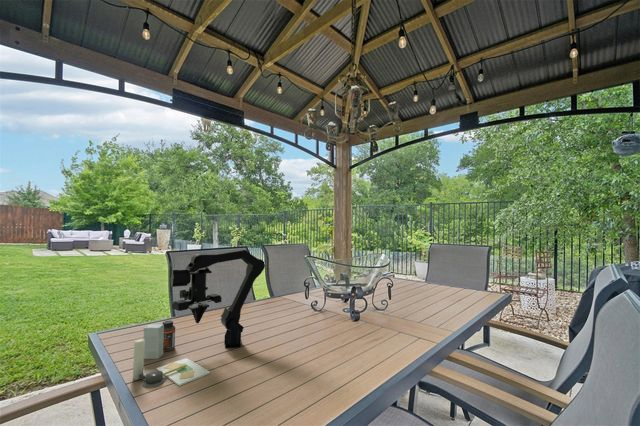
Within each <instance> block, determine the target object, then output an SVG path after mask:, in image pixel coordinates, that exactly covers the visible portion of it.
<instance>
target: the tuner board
mask: <svg viewBox="0 0 640 426" xmlns="http://www.w3.org/2000/svg"><path fill="white" fill-rule="evenodd" d="M184 363H185V364H187V366H186V367H185V368H182V369H179V370H176V371H174V372H171V373H169V374H166V375H164V376H163V379H162V380H161V381H160V382H157V383H154V384H147V383H146V382H145V379H143V381H142V383H141V386H142V387H144V388H153V387H158V386H160V385H162V384H164V383H165V381H167V380H166V378H167V379H169V380H170V381H171V382H173V383H174V384H175V385H177V386H178V387H180V386H183V385H185V384H188V383H190V382H193V381H195V380H198V379H200V378H203V377H205V376H207V375H210V374H211V371H209V370H208V369H206V368H204V367H203V366H201V365H199V364H197V363H196V362H194V361H193V360H190V359H189V358H187V357H185V358H181V359H179V360H175V361H173V362H170V363H168V364H165V365H161V366H159V367H156V369H155V371H162V372H165V371H168V370H170V369H173V368H176V367H178V366H180V365H182V364H184Z"/></svg>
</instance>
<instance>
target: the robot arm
mask: <svg viewBox="0 0 640 426" xmlns="http://www.w3.org/2000/svg"><path fill="white" fill-rule="evenodd" d="M236 260H242V261H243V262H244V263H245V264H246V265H247V266H246V270H245V276H244V279H243V280H242V283H241V284H240V286H239V289H238V290H237V293H236V295H235V297H234V299H233V301H232V303H231V305H230V306H229V307H228V308H227V307H224V308H223V312H222V314H221V315H220V317H221V318H220V323H221V324H222V326H223V327H225V329H226V331H225V333H224V342H223V343H224V344H223V345H224V348H226V349H229V348H241V346H242V342H243V341H242V333H243V331H244V328H245V327H244V326H243V325H241V324H240V319H241V312H242V308H243V307H244V304H245V301H246V300H247V297H248V296H249V293H250V291H251V290H252V286H253V284H254V283H255V281H256V280H257V278H259V276H260V275H261V274H262V273H263V271H264V269H265V267H266V264H265V261H264V260H263V259H259V258H257V257H256V256H254V255H253V254H251V253H250V252H249V251H248V250H246V249H243V248H241V249H238V250H231V251H225V252H219V253H195V254H193V255H192V257H191V259H190V263H188V264H187V266H186V267H185V268H181V269H172V270H171V276H170V287H171V288H177V287H187V286H188V285H190V284H191V285H190V286H189V288H188V290H186V289H181V290H179V299H180V300H174V301H173V303H172V304H171V308H172V309H173V310H175V311H177V312H181V311H186V310H188V309H189V310H190V311H191V313H192V315H193V318H194V321H195V323H196V324H200V321H201V319H202V318H203V316H204V314H205V312H206V310H207V309H208V308H209V307H210V305H209V303H210V302H214V303H215V304H218V303H222V300H223V298H222V295H220V294H217V293H212V294H207V290H209V288H208V286H207V274H212V273H213V272H212V271H211V269H210V268H209V267H211V266H213V265H215V264H218V263H220V264H221V263H224V262H231V261H236Z"/></svg>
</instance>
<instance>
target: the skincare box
mask: <svg viewBox="0 0 640 426" xmlns="http://www.w3.org/2000/svg"><path fill="white" fill-rule="evenodd" d="M143 340H145V342H144V360H158V359H160V358H161V357H162V356H163V355H164V351H163V342H164V324H163V323H162V324H148V325H147V326H145V327H143Z"/></svg>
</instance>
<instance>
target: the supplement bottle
mask: <svg viewBox="0 0 640 426" xmlns="http://www.w3.org/2000/svg"><path fill="white" fill-rule="evenodd" d="M163 324H164V342H163V352H169V351H172V350H173V349H175V346H176V344H175V342H176V326H175V325H174V321H173V320H170V319H169V320H165V321H164V320H163V321H162V325H163Z"/></svg>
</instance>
